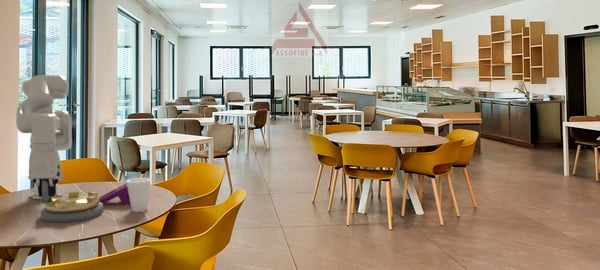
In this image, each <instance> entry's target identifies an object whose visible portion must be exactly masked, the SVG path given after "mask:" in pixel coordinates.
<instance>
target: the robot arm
mask: <svg viewBox="0 0 600 270" xmlns="http://www.w3.org/2000/svg"><path fill="white" fill-rule="evenodd" d="M22 92H23V93H24V95H25V96H26V99H25V100H23V101H22V102H21V103H20V104H19V105H18V107H17V109H16V115H15V117H16V120H15V121H16V125H15V126H16V128H17V131H19V133H22V134H31V136H30V139H29V142H30V145H29V148H30V149H31V151H30V153H29V158H28V159H29V160H28V176H27V178H28V180H30V181H32V182H33V183H34V185H35V186H33V187H32V188H31V189H30V192H32V193H34V194H33V195H32V196H31V198H32V199H33V200H42V189H41V179H49V183H50V186H49V187H48V189H49V197H52V196H55V195H58V198H61V197H62V196H63V192H62V191H59V182H60V181H62V180H63V179H65V176H64V174H63V172H62V164H61V158H60V154H59V151H67V150H70V149H71V148H72V146H73V138H72V137H73V134H72V132H73V131H72V118H71V115H70V113H69V112H68V111H66V110H53V104H54V100H63V99H66V98H67V97H68V94H69V82H68V80H67V78H66V77H65V76H64V75H59V74H58V75H54V74H53V75H52V74H51V75H50V74H49V75H46V74H41V75H39V74H38V75H34V76H32V77H31V78H30V79H28V80H24V81H23V82H22Z"/></svg>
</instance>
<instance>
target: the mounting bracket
mask: <svg viewBox="0 0 600 270" xmlns="http://www.w3.org/2000/svg"><path fill="white" fill-rule="evenodd" d="M98 198H99V202H101V203H103V205H104V204H105V203H108V202H110V201H111V200H113V199H115V198H119V200H120V202H121V203H122V204H124V205H127V204H128V205H131V204H130V198H129V193H128V187H127V182H126V183H124V184H122V185H120V186H118V187H116V188H114V189H113V190H111V191H109V192H107V193H105V194H103V195H101V196H100V197H98ZM128 205H127V206H128Z"/></svg>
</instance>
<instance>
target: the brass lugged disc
mask: <svg viewBox="0 0 600 270" xmlns="http://www.w3.org/2000/svg"><path fill="white" fill-rule="evenodd" d="M99 198H100V197H99V195H98V192H97V191H93V190H92V191H91V190H90V191H88V192H87V195H86V194H80V190H74V191H68V194H67V196H63V197H62V196H60V197H58V195H55V196H52V202H51V203H44V208H45V211H46V212H49V213H58V214H61V213H75V212H81V211H86V210H90V209H93V208H95V207H97V206H98V205H99Z"/></svg>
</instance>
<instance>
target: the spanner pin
mask: <svg viewBox="0 0 600 270" xmlns="http://www.w3.org/2000/svg"><path fill="white" fill-rule="evenodd" d="M49 186H50V183H49V179H41V189H42V199H41V203H42V204H45V203H51V202H52V197H49V189H48V187H49Z"/></svg>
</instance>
